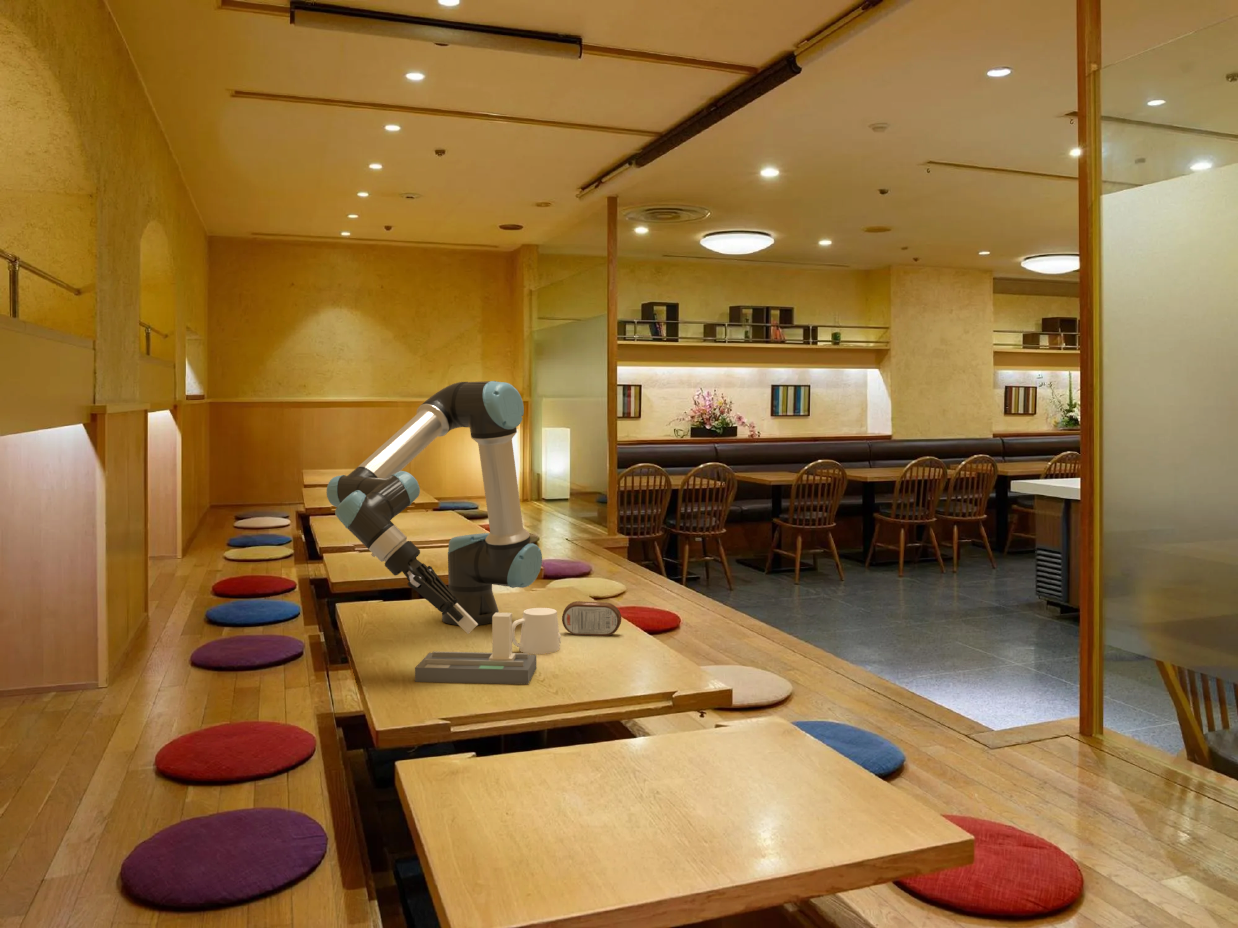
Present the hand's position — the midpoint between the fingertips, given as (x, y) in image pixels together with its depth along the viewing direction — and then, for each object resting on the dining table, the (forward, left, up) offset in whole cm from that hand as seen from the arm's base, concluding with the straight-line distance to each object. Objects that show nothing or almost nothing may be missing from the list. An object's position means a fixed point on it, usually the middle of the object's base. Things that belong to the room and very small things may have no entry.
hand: (473, 628), depth 205 cm
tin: (-37, +22, -10) cm, 44 cm away
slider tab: (0, +6, -7) cm, 9 cm away
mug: (-21, +10, -10) cm, 26 cm away
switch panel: (0, +1, -10) cm, 10 cm away
